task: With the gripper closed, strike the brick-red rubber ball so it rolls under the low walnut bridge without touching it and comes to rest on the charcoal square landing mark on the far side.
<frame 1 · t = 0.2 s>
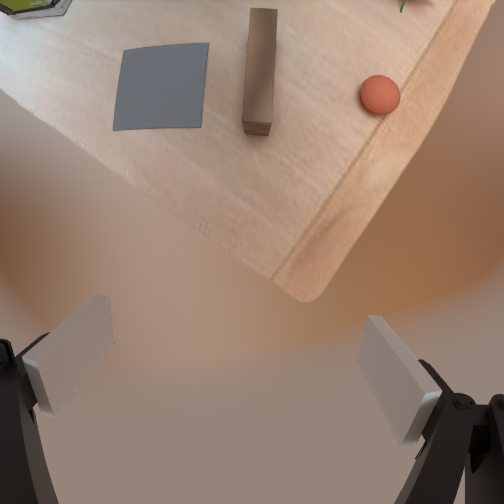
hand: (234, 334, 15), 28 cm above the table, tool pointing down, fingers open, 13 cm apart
ball: (380, 94, 35), on the table
bridge: (259, 84, 37), on the table
landing mark: (159, 84, 37), on the table
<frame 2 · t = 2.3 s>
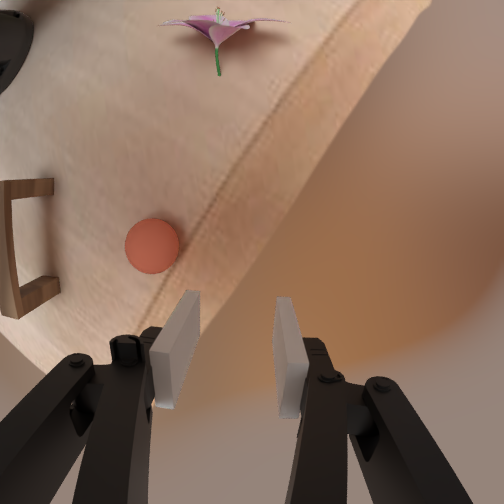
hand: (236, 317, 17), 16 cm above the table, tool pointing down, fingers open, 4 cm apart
ball: (151, 246, 30), on the table
bridge: (46, 236, 33), on the table
lily: (224, 43, 28), on the table
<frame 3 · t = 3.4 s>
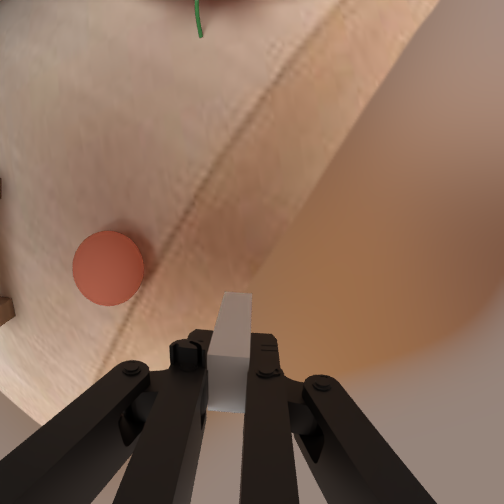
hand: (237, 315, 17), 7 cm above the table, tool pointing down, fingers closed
ball: (107, 268, 21), on the table
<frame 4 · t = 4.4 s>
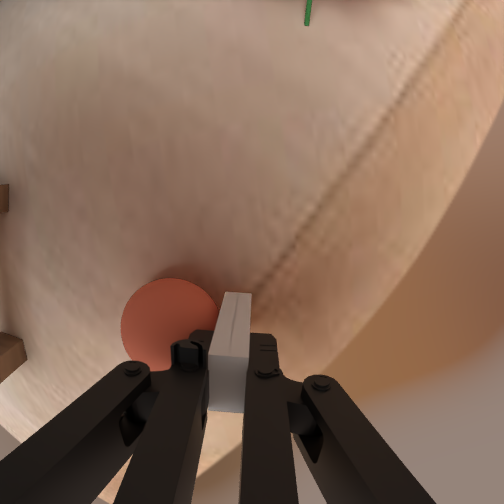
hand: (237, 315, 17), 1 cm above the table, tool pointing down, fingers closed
ball: (171, 329, 16), on the table, touching gripper
bridge: (0, 276, 18), on the table
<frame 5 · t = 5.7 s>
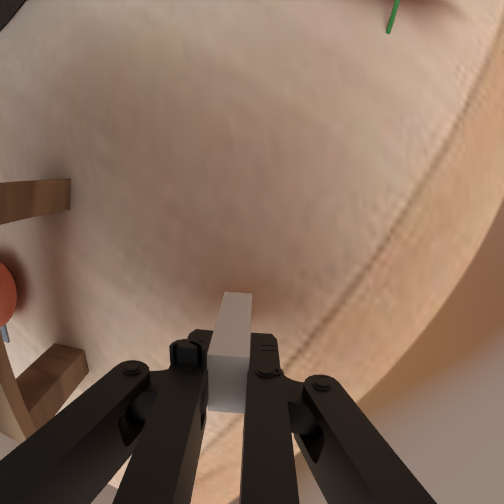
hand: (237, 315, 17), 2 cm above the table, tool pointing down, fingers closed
bridge: (58, 283, 19), on the table
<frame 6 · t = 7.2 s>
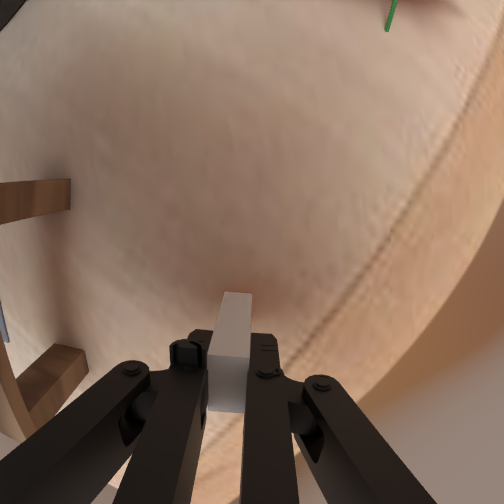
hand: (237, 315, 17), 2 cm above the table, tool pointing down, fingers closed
bridge: (58, 283, 19), on the table
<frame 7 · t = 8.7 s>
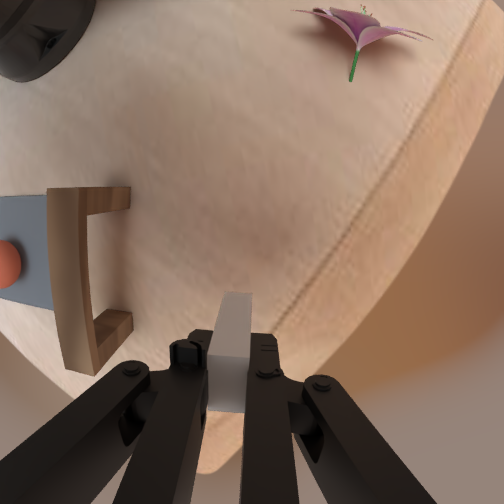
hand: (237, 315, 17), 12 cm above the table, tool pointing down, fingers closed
ball: (0, 264, 26), on the table
bridge: (116, 261, 28), on the table
landing mark: (19, 251, 29), on the table
lily: (350, 46, 24), on the table
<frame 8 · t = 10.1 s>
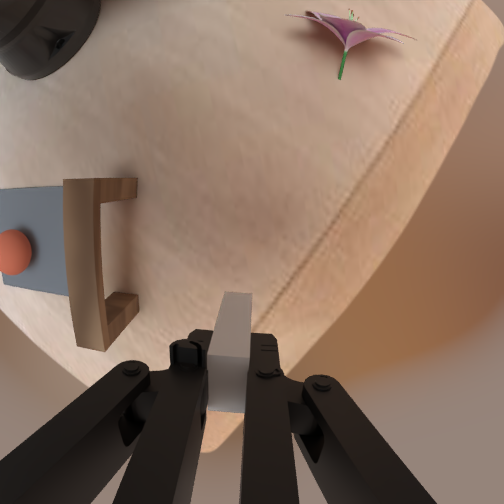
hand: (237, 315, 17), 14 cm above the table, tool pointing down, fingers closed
ball: (11, 252, 29), on the table
bridge: (123, 246, 31), on the table
landing mark: (29, 240, 31), on the table
lily: (339, 46, 26), on the table
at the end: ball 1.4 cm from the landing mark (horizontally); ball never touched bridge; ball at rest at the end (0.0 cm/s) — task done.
